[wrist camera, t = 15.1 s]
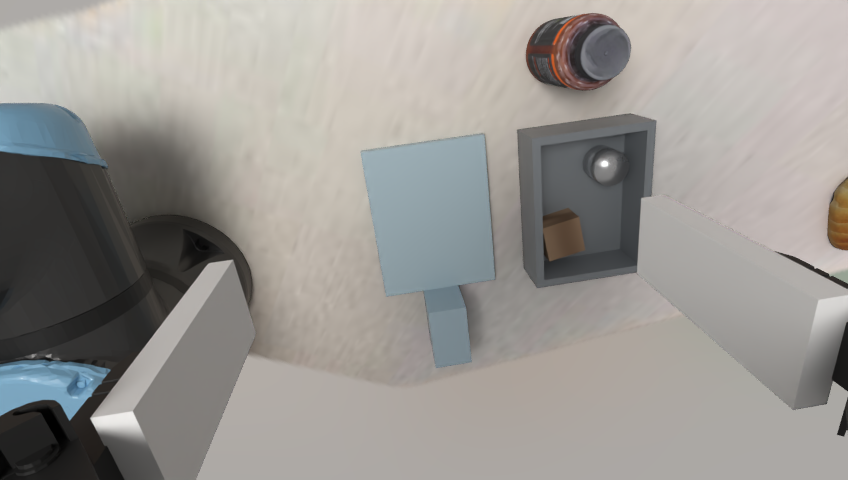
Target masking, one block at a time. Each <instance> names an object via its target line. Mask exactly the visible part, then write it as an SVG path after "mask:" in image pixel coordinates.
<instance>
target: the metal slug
mask: <svg viewBox="0 0 848 480" xmlns="http://www.w3.org/2000/svg"><path fill="white" fill-rule="evenodd" d="M583 170H584V172H585V173H586V174H587V175H588V176H589V177H591V178H592V179H594V180H596V181H597V182H599V183H601V184H602V185H605V186H612V185H616V184H618V183H620V182H621V181H622V180H623V179H624V178H625V177H626V175H627V173H628V171H629V160H628V158H627V156H626V155H625V154H624V153H622V152H620V151H618V150H615V149H613V148H611V147H609V146H606V145H597V146H595V147H593V148H591V149H590V150H589V151H588V152H587V153H586V155H585V156H584V159H583Z"/></svg>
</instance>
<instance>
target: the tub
mask: <svg viewBox="0 0 848 480" xmlns="http://www.w3.org/2000/svg"><path fill="white" fill-rule="evenodd" d="M655 133H656V120H652V119H649V118H645V117H641V116H638V115H634V114H623V115H616V116H609V117H602V118H595V119H588V120H581V121H575V122H568V123H561V124H554V125H547V126H540V127H533V128H526V129H519V130H517V134H518V156H519V178H520V199H521V221H522V242H523V264H524V269H525V270H526V272H527V273H528V275H529V276H530V278H531V279H532V281H533V282H534V284H535V285H536V287H537V288H540V287H547V286H553V285H560V284H566V283H572V282H579V281H585V280H591V279H598V278H604V277H610V276H617V275H623V274H629V273H636V272H637V263H638V246H639V229H640V212H641V198H644V197H651V193H652V178H653V163H654V148H655ZM597 145H606V146H609V147H611V148H613V149H615V150H618V151H620V152H622V153H624V154H625V155H626V156H627V158H628V160H629V171H628V173H627V175H626V177H625V178H624V179H623V180H622V181H621V182H620V183H618V184H616V185H612V186H605V185H602V184H601V183H599V182H597V181H596V180H594V179H592V178H591V177H589V176H588V175H587V174H586V173H585V172H584V170H583V159H584V156H585V155H586V153H587V152H588V151H589V150H590V149H591V148H593V147H595V146H597ZM566 208H569V209H570V210H571V211H573V212H574V213H575V214H576V215H577V216H579V219H580V225H581V230H582V235H583V241H584V246H585V250H584V251H581V252H578V253H575V254H572V255H568V256H565V257H562V258H559V259H556V260H553V261H549V260H548V259H547V258H546V256H545V255H544V250H543V216H544V215H547V214H551V213H554V212H557V211H560V210H563V209H566Z"/></svg>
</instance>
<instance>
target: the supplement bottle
mask: <svg viewBox="0 0 848 480" xmlns="http://www.w3.org/2000/svg"><path fill="white" fill-rule="evenodd" d="M630 52H631V44H630V40H629V37H628V36H627V34H626V33H625V32H624V31H623V29H621V28H620V27H619V25H618V24H617V23H616V22H615V21H614V20H613V19H611V18H610V17H608V16H606V15H602V14H597V13H590V14H582V15H576V16H570V17H564V18H558V19H553V20H551V21H548V22H546V23H544V24H542V25H541V26H540V27H538V28H537V29H536V30H535V32H534V33H533V34H532V36H531V38H530V40H529V42H528V45H527V50H526V61H527V65H528V68H529V70H530V72H531V73H532V74H533V76H534V77H535V78H537V79H538V80H539V81H541V82H544V83H546V84H550V85H555V86H560V87H565V88H571V89H577V90H593V89H596V88H599V87H601V86H603V85H605V84H606V83H608V82H609V81H610V80H611V79H612V78H613V77H615V76H617V75H618V74H619V73H620V72H621V71H622V70H623V69H624V68H625V66H626V64H627V63H628V61H629V58H630Z"/></svg>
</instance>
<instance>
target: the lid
mask: <svg viewBox="0 0 848 480" xmlns="http://www.w3.org/2000/svg"><path fill="white" fill-rule="evenodd" d="M361 157H362V163H363V169H364V174H365V180H366V185H367V191H368V197H369V202H370V208H371V214H372V219H373V225H374V230H375V236H376V242H377V247H378V253H379V258H380V264H381V270H382V275H383V281H384V287H385V292H386V297H387V296H394V295H400V294H406V293H413V292H419V291H424V298H425V305H426V312H427V319H428V326H429V333H430V339H431V345H432V350H433V355H434V360H435V366H436V368H439V367H445V366H451V365H457V364H463V363H469V362H472V360H471V350H470V341H469V331H468V322H467V312H466V306H465V303H464V300H463V297H462V295H461V292H460V289H459V286H458V285H464V284H470V283H476V282H483V281H489V280H495V270H494V256H493V243H492V230H491V216H490V203H489V190H488V176H487V163H486V150H485V137H484V134H483V133H480V134H473V135H466V136H459V137H452V138H445V139H438V140H431V141H424V142H417V143H411V144H404V145H397V146H390V147H383V148H376V149H369V150H362V151H361Z"/></svg>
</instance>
